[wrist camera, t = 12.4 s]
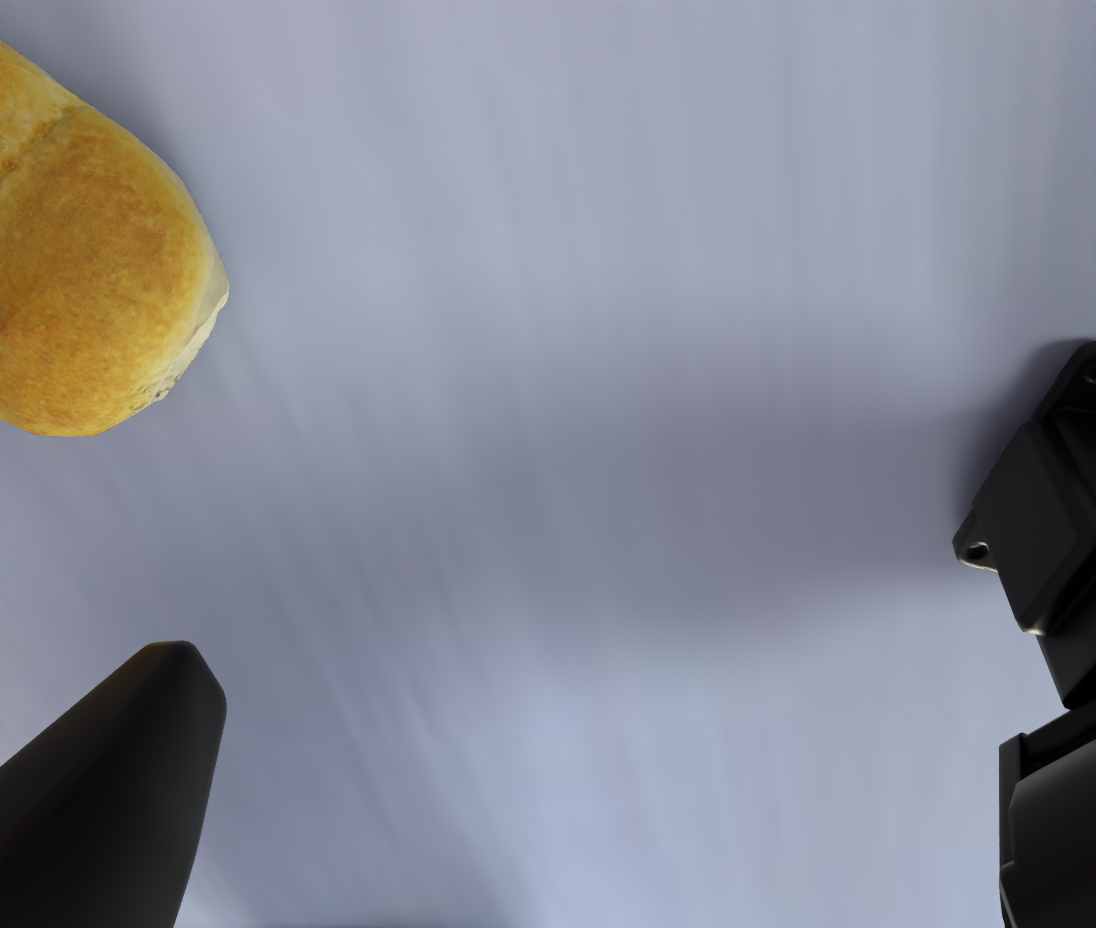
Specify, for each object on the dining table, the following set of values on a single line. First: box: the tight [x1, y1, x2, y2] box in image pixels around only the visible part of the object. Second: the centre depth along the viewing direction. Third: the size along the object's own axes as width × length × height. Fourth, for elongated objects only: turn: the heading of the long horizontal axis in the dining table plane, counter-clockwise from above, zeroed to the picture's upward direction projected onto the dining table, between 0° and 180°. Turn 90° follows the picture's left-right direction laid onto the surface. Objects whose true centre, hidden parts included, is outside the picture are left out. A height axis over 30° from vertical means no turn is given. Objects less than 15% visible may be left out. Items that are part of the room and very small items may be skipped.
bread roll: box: [0, 40, 229, 437], centre depth 20 cm, size 8×9×4 cm
